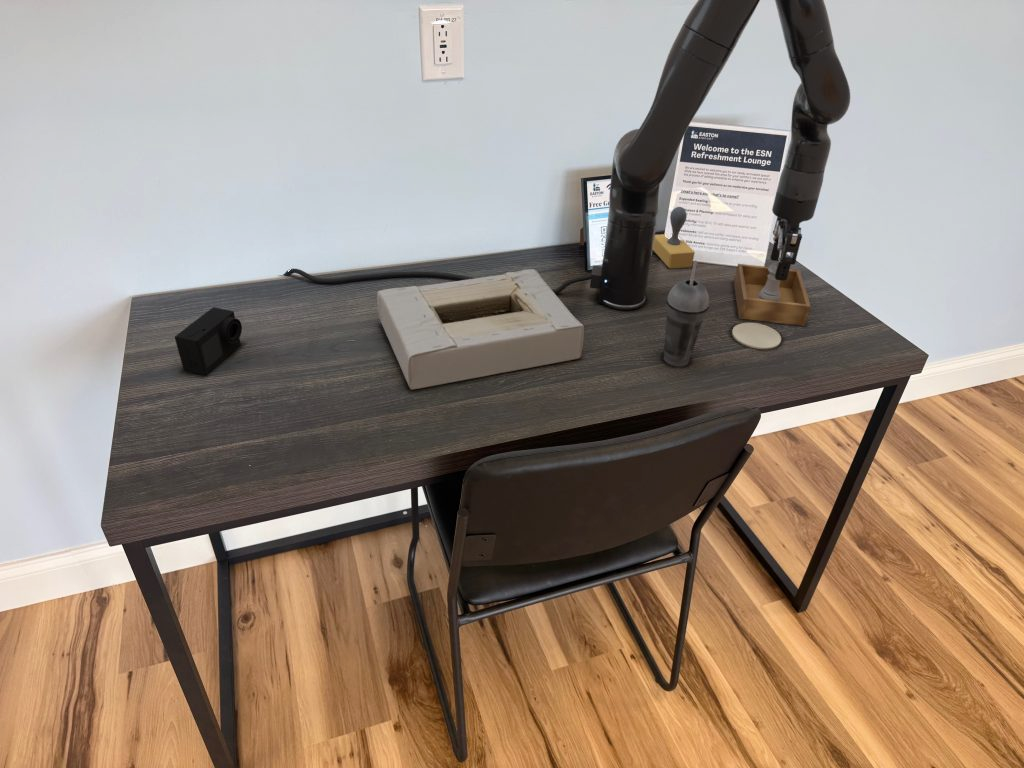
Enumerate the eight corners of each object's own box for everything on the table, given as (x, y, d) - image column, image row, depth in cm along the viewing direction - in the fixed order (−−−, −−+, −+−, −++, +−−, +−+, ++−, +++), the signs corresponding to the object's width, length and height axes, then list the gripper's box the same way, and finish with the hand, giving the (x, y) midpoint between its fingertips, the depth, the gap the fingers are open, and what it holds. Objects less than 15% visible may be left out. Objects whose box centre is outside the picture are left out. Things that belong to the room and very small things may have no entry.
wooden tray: (738, 318, 144) (743, 298, 142) (733, 282, 157) (738, 263, 154) (804, 326, 142) (811, 306, 140) (794, 288, 155) (799, 270, 152)
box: (533, 298, 148) (377, 322, 138) (536, 264, 144) (374, 286, 133) (583, 360, 131) (409, 393, 121) (588, 324, 126) (407, 355, 116)
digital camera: (211, 377, 122) (202, 342, 118) (183, 371, 123) (173, 336, 119) (247, 346, 130) (240, 311, 126) (220, 340, 132) (212, 306, 127)
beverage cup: (699, 353, 133) (721, 252, 122) (694, 374, 128) (716, 271, 116) (659, 345, 135) (677, 245, 123) (652, 365, 129) (670, 263, 118)
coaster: (733, 346, 136) (734, 344, 135) (730, 321, 143) (730, 320, 143) (783, 352, 135) (784, 350, 134) (777, 327, 142) (778, 325, 142)
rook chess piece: (780, 299, 150) (790, 263, 146) (777, 308, 147) (787, 273, 142) (758, 294, 152) (768, 259, 147) (755, 303, 148) (764, 267, 144)
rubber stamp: (651, 249, 169) (658, 199, 162) (674, 247, 170) (683, 197, 163) (668, 268, 161) (677, 217, 154) (692, 266, 162) (702, 215, 155)
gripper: (773, 175, 142) (755, 252, 151) (781, 203, 130) (761, 284, 140) (813, 179, 141) (792, 256, 150) (825, 207, 129) (802, 288, 139)
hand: (777, 269), depth 145 cm, fingers open, 8 cm apart
